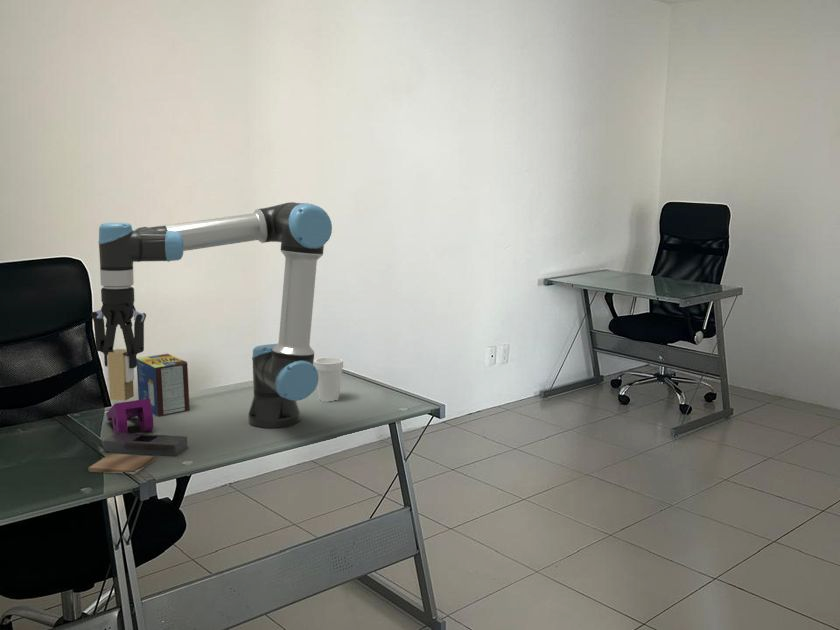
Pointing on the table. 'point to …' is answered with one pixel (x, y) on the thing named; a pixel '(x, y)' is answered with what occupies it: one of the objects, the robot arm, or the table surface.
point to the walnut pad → (121, 463)
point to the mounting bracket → (131, 415)
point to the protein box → (163, 383)
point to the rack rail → (145, 444)
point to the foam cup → (329, 377)
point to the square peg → (119, 376)
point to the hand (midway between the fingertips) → (121, 379)
